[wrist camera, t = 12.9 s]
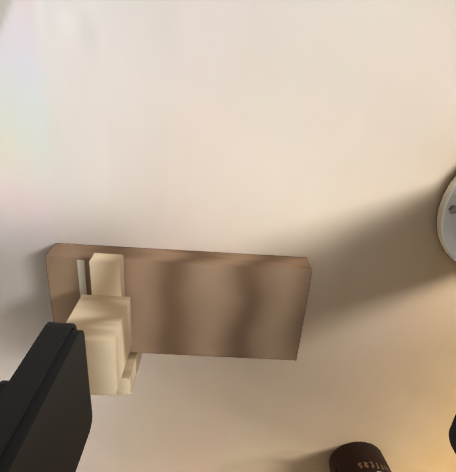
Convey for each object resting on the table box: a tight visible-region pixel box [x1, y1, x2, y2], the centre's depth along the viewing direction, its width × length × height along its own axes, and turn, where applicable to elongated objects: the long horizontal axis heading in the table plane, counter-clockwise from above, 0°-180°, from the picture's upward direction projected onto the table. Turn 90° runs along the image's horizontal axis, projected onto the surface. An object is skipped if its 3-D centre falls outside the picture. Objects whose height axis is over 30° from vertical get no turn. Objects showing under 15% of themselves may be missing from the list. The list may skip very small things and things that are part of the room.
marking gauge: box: [66, 253, 141, 396], centre depth 35 cm, size 4×14×10 cm, turn 176°
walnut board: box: [45, 243, 312, 360], centre depth 39 cm, size 23×10×3 cm, turn 86°
